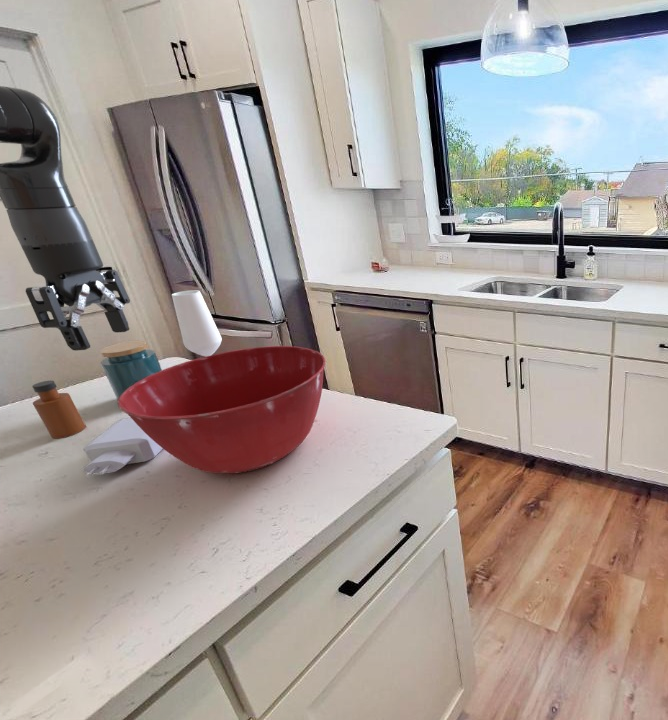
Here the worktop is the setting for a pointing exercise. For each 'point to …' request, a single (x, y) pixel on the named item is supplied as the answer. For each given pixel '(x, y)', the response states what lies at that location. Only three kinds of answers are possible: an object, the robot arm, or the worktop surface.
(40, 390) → the amber bottle
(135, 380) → the teal jar
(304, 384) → the mixing bowl
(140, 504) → the worktop surface
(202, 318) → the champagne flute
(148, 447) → the charger
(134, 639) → the worktop surface
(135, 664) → the worktop surface
